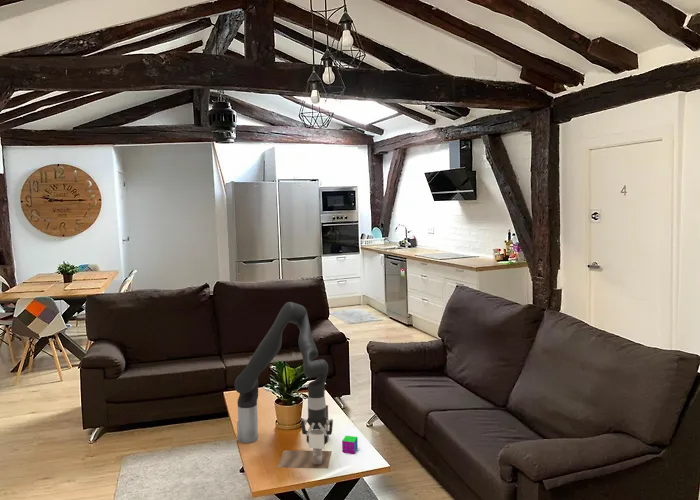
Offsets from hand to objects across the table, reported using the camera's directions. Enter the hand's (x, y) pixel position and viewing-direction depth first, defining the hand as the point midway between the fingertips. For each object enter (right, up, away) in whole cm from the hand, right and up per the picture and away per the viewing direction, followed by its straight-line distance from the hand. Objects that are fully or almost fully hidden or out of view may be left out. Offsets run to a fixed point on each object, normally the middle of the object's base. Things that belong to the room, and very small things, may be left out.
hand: (317, 443), depth 238 cm
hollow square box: (0, -1, 0) cm, 1 cm away
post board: (-6, -10, +4) cm, 12 cm away
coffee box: (0, -8, +26) cm, 27 cm away
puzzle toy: (+14, -9, +15) cm, 22 cm away
